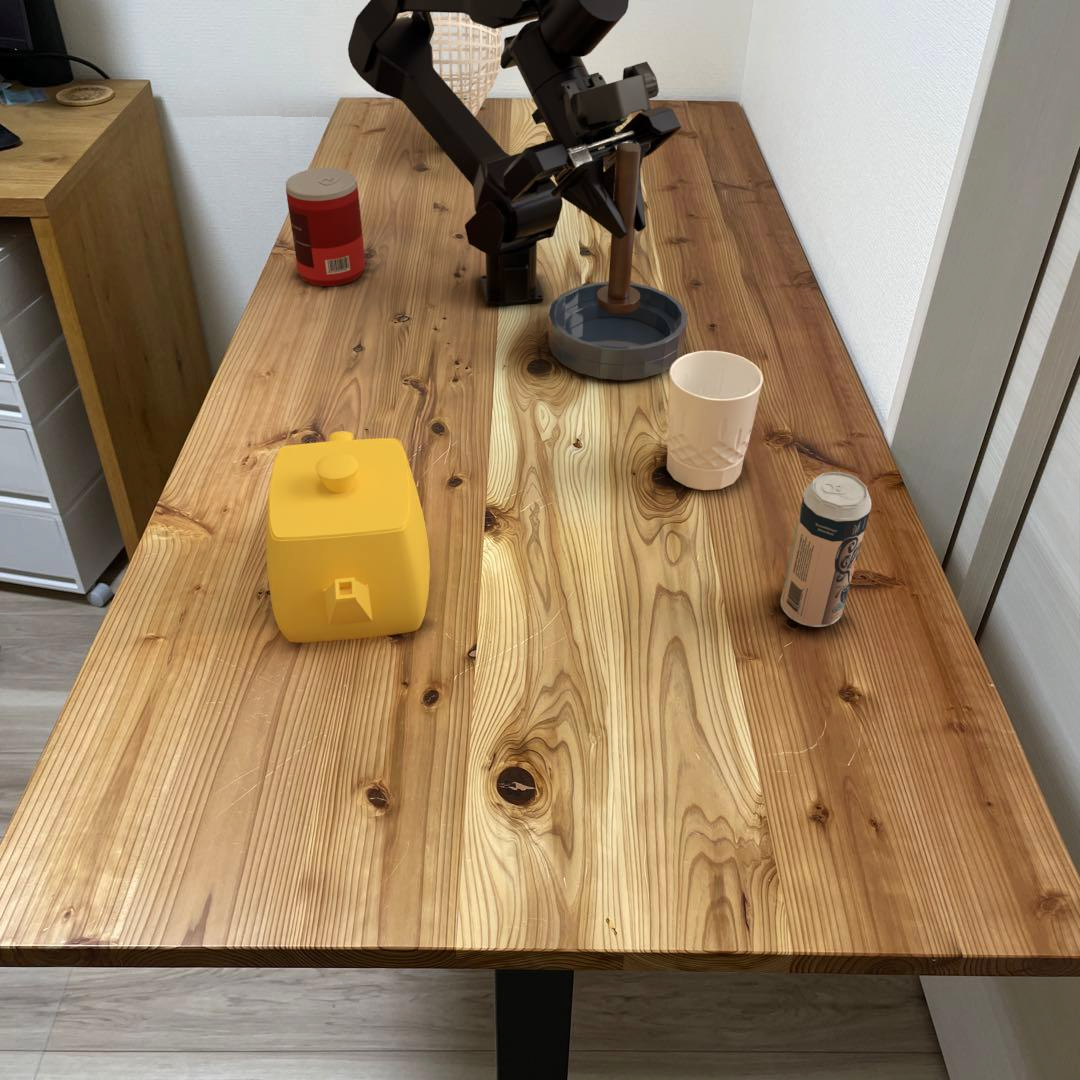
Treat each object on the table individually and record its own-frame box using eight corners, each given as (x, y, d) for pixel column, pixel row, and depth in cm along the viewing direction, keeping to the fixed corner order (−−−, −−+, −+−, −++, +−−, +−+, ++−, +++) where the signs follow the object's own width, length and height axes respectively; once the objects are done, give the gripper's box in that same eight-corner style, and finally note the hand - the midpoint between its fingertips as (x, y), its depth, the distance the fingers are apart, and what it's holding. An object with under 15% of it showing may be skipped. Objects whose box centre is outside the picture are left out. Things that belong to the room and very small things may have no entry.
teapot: (440, 676, 78) (431, 555, 70) (267, 693, 76) (238, 572, 69) (424, 505, 93) (415, 390, 85) (279, 517, 91) (256, 400, 84)
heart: (503, 185, 145) (501, 8, 131) (388, 185, 145) (373, 7, 130) (503, 113, 166) (501, -47, 152) (403, 113, 166) (391, -47, 151)
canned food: (378, 264, 127) (369, 173, 120) (341, 293, 121) (330, 200, 114) (324, 251, 129) (312, 162, 122) (285, 279, 124) (270, 187, 117)
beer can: (841, 635, 81) (875, 513, 73) (778, 626, 82) (805, 504, 74) (841, 593, 85) (873, 472, 77) (780, 584, 85) (806, 464, 78)
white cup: (754, 453, 99) (770, 359, 92) (737, 503, 93) (753, 407, 87) (671, 436, 101) (681, 343, 94) (650, 484, 95) (659, 389, 89)
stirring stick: (592, 311, 107) (600, 153, 97) (600, 290, 111) (609, 135, 100) (635, 316, 107) (648, 158, 96) (642, 295, 110) (656, 140, 99)
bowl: (538, 320, 117) (538, 286, 115) (663, 310, 119) (666, 277, 117) (562, 389, 107) (563, 355, 104) (699, 377, 109) (704, 343, 106)
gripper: (523, 55, 90) (605, 223, 91) (676, 16, 99) (750, 169, 100) (468, 123, 100) (543, 274, 101) (613, 81, 109) (681, 220, 110)
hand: (632, 233), depth 103 cm, fingers closed on stirring stick, 2 cm apart
